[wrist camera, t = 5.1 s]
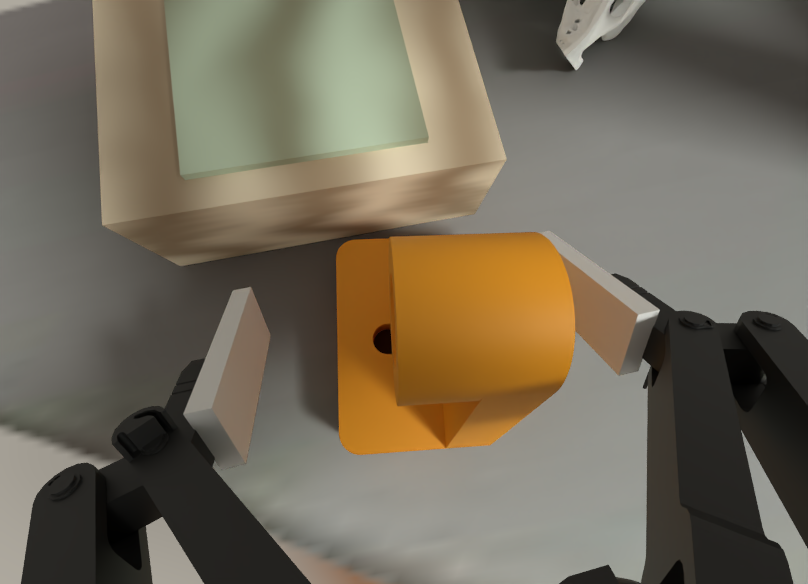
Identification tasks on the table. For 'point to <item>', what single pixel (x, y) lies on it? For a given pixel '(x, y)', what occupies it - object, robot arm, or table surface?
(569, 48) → the white bone skull
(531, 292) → the bracket
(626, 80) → the table surface
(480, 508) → the table surface
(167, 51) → the riser stand
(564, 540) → the table surface
